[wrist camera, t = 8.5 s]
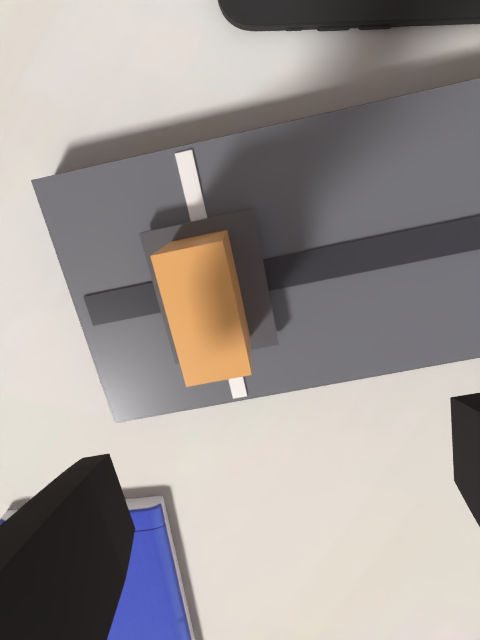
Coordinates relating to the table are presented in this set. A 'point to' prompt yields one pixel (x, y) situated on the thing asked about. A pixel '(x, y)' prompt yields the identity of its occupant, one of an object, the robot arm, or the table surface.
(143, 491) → the table surface
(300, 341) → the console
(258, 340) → the fader
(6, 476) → the table surface
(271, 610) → the table surface
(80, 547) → the robot arm
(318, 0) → the phone
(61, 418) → the table surface
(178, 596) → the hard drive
